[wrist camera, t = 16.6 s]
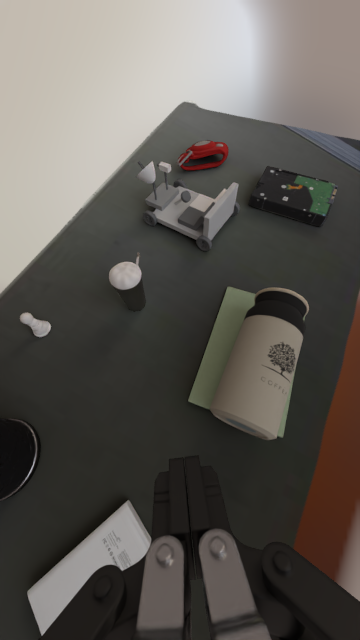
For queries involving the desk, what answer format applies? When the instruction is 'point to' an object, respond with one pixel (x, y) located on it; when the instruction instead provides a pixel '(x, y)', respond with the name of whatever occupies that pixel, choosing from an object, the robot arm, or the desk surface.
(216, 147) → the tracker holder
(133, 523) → the hard drive
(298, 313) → the travel mug
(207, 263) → the desk surface
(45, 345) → the desk surface
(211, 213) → the toy car
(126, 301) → the milkshake
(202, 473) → the robot arm
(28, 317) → the chess pawn
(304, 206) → the disk drive
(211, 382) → the mat
